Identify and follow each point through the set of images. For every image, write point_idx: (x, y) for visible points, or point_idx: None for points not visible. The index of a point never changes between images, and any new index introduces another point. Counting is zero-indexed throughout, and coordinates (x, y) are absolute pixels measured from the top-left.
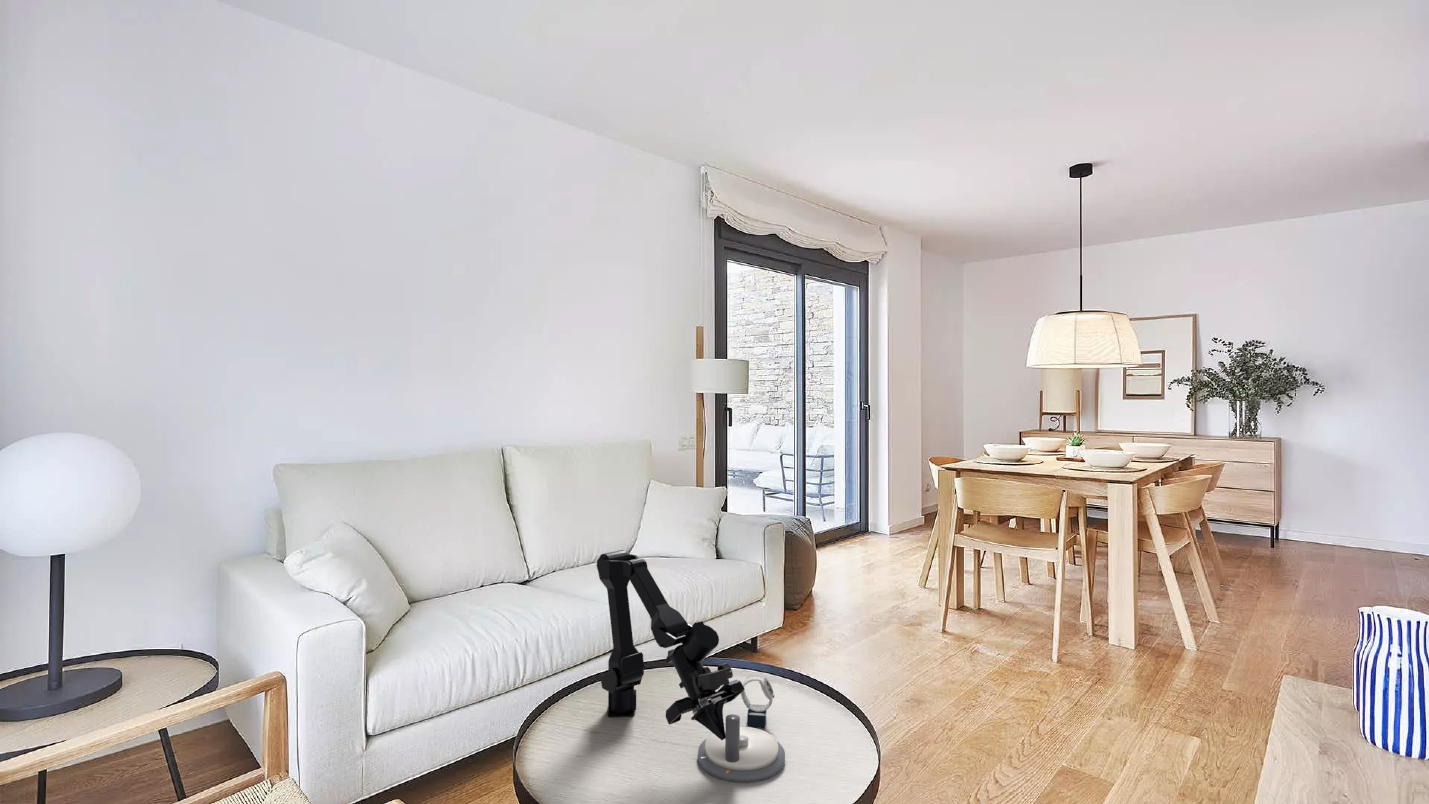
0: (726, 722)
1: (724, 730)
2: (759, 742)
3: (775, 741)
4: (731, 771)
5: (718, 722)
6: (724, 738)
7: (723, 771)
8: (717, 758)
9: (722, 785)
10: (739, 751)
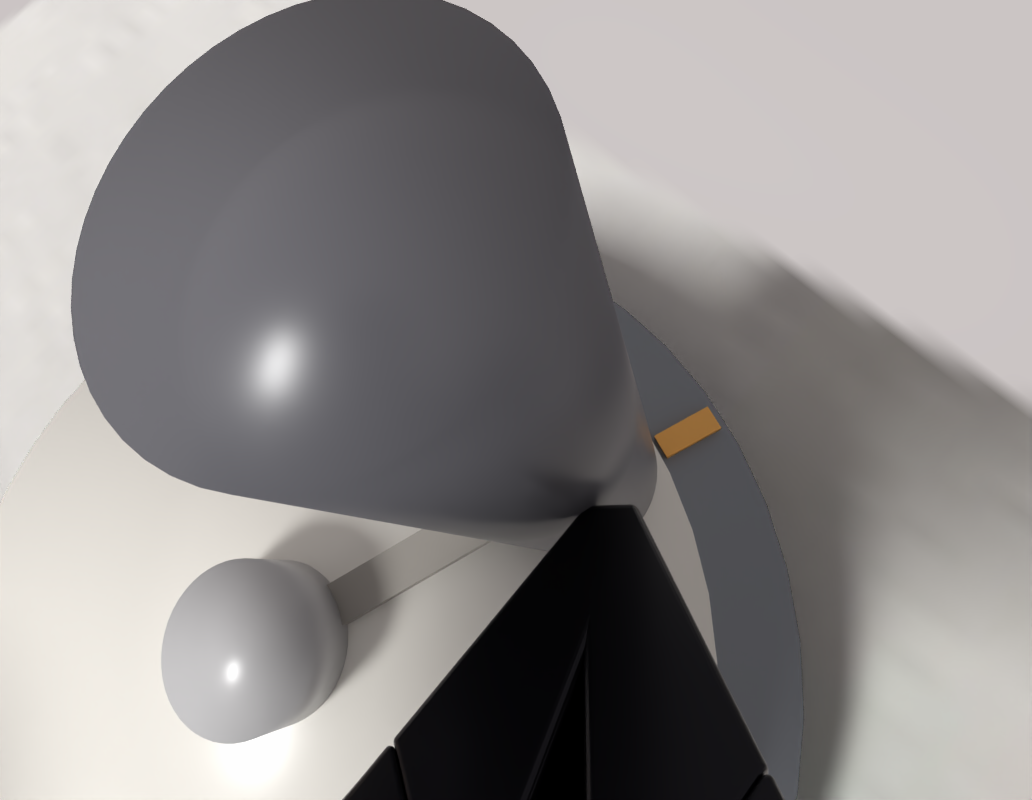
0: (584, 301)
1: (537, 573)
2: (141, 530)
3: (45, 446)
4: (650, 418)
5: (605, 752)
6: (618, 507)
7: (721, 466)
8: (708, 595)
9: (798, 398)
10: (405, 532)
